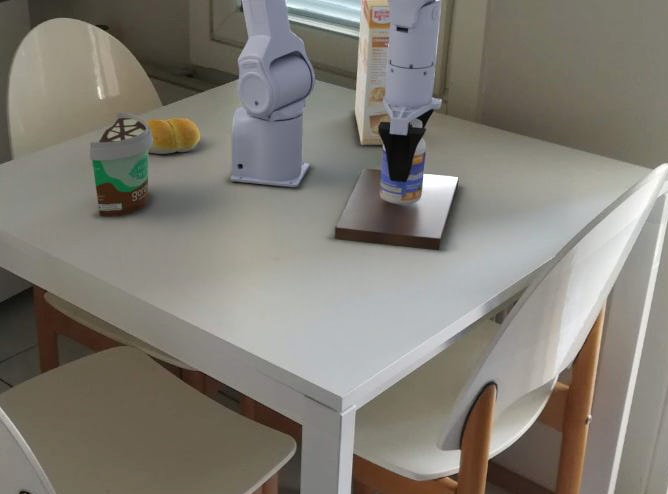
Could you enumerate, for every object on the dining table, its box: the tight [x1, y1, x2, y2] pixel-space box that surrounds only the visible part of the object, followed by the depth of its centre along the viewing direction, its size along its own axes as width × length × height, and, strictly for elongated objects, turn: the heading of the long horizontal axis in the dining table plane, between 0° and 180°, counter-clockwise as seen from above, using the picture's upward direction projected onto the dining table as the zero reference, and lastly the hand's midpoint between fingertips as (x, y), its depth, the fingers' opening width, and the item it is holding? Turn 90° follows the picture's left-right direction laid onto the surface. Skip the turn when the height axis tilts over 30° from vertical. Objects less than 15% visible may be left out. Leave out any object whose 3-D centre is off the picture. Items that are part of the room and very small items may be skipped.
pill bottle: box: [380, 118, 427, 205], centre depth 139 cm, size 5×5×10 cm
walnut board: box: [334, 167, 460, 251], centre depth 143 cm, size 13×20×2 cm, turn 165°
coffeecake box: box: [354, 0, 391, 146], centre depth 162 cm, size 15×7×20 cm, turn 179°
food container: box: [89, 111, 153, 217], centre depth 143 cm, size 12×6×10 cm, turn 168°
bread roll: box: [146, 117, 201, 155], centre depth 161 cm, size 8×9×4 cm
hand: (402, 171), depth 140 cm, fingers closed on pill bottle, 5 cm apart
